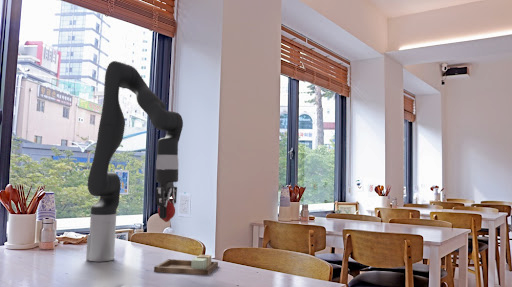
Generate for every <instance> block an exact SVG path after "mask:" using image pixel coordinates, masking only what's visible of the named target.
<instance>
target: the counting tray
mask: <svg viewBox="0 0 512 287" xmlns="http://www.w3.org/2000/svg"><path fill="white" fill-rule="evenodd" d="M191 260H192V259H191ZM191 260H189V259H188V260H187V259H168V258H167V259H166V260H165V261H163V262H161V263H159V264H157V265H155V266H153V272H154V273H165V274H170V273H171V274H185V275H186V274H187V275H199V276H200V275H201V276H208V275H210V274H211V273H212V272H214V270H215V269H217V268H218V266H219V262H218V261H211V266H209V267H208V268H207V269H192V268H191Z"/></svg>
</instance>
